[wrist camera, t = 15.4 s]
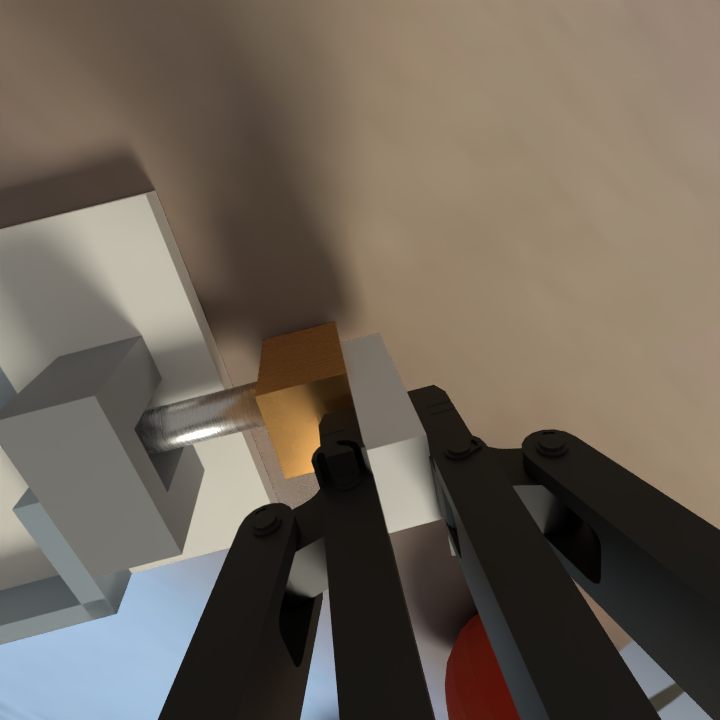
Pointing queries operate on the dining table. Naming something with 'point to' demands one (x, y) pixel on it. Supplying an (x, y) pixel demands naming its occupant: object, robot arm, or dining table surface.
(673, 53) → the dining table surface
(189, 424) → the lock pin
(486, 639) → the fruit
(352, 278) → the dining table surface
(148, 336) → the dock
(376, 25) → the dining table surface
